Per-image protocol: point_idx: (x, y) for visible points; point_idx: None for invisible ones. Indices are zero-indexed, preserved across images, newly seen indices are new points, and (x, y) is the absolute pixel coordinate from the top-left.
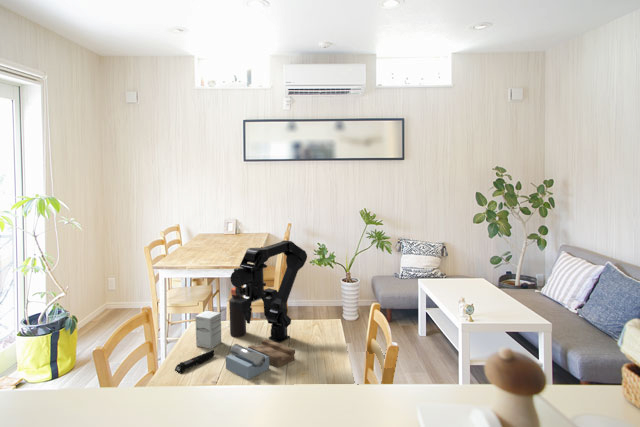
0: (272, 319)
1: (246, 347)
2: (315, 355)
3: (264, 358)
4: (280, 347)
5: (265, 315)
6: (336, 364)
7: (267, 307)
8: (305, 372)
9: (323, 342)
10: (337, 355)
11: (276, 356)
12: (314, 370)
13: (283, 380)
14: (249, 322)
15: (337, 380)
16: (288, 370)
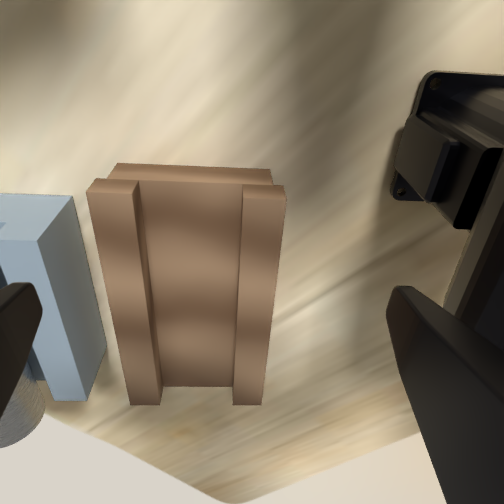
0: (464, 264)
1: (32, 241)
2: (338, 394)
3: (36, 420)
4: (236, 349)
5: (394, 306)
6: (312, 457)
7: (455, 469)
8: (196, 432)
9: None
10: (379, 435)
11: (142, 390)
12: (229, 440)
13: (95, 419)
14: (25, 333)
15: (224, 491)
16: (162, 395)
